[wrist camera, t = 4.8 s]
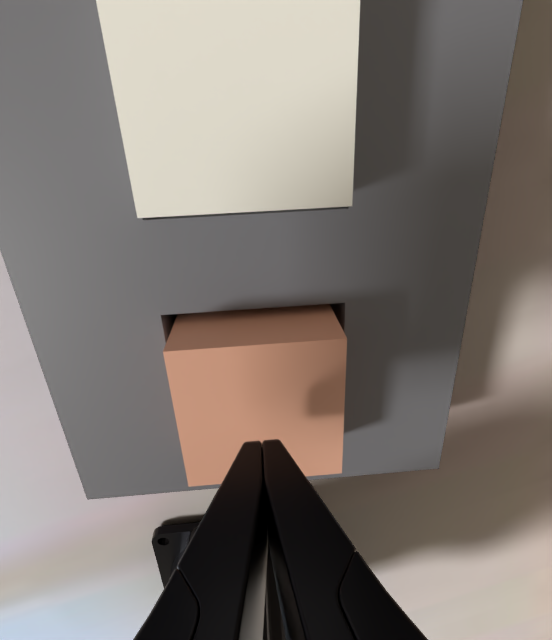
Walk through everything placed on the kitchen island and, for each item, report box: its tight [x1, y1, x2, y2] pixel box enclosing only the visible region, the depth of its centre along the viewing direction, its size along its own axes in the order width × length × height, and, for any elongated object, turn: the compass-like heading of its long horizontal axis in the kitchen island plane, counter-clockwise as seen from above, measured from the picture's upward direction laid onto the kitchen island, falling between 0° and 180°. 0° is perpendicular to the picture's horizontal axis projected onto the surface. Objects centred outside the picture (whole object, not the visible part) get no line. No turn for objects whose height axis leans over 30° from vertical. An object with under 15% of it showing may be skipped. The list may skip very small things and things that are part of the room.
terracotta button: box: [163, 304, 347, 487], centre depth 11 cm, size 4×4×2 cm
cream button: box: [96, 0, 360, 218], centre depth 8 cm, size 4×4×2 cm
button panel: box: [0, 0, 523, 500], centre depth 10 cm, size 23×12×2 cm, turn 2°
